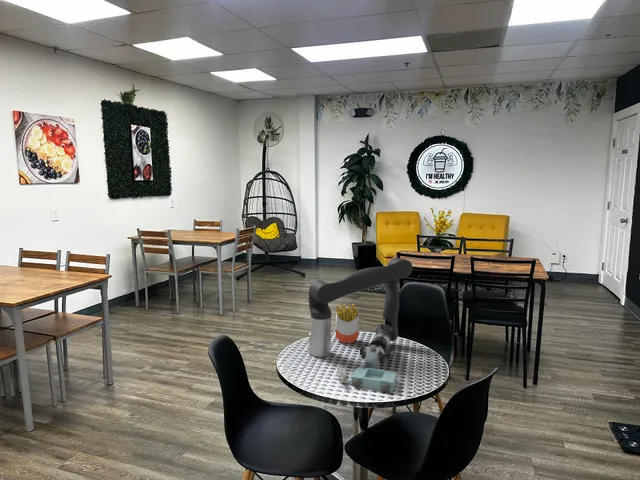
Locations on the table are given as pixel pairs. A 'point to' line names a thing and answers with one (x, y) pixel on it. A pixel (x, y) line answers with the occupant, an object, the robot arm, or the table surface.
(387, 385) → the chassis
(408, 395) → the table surface
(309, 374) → the table surface
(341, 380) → the soldier figure
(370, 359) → the knobbed metal block
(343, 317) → the french fries container
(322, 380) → the table surface
